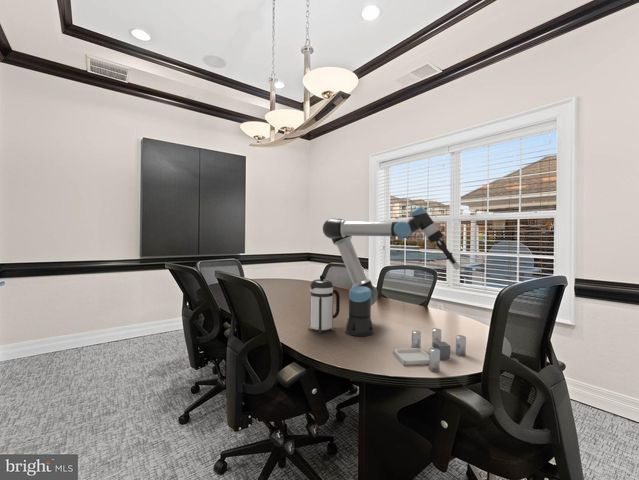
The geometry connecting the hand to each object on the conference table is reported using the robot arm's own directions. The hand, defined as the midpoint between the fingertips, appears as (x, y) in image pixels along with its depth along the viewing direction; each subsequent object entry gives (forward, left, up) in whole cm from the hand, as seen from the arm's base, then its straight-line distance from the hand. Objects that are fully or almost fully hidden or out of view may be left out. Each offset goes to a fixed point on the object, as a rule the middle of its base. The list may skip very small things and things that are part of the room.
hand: (457, 267), depth 158 cm
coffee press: (-67, +18, -36) cm, 78 cm away
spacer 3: (-30, -35, -36) cm, 59 cm away
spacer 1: (-28, -14, -36) cm, 48 cm away
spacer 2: (-17, -12, -36) cm, 41 cm away
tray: (-34, -24, -36) cm, 55 cm away
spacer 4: (-11, -22, -36) cm, 44 cm away
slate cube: (-21, -24, -36) cm, 48 cm away
